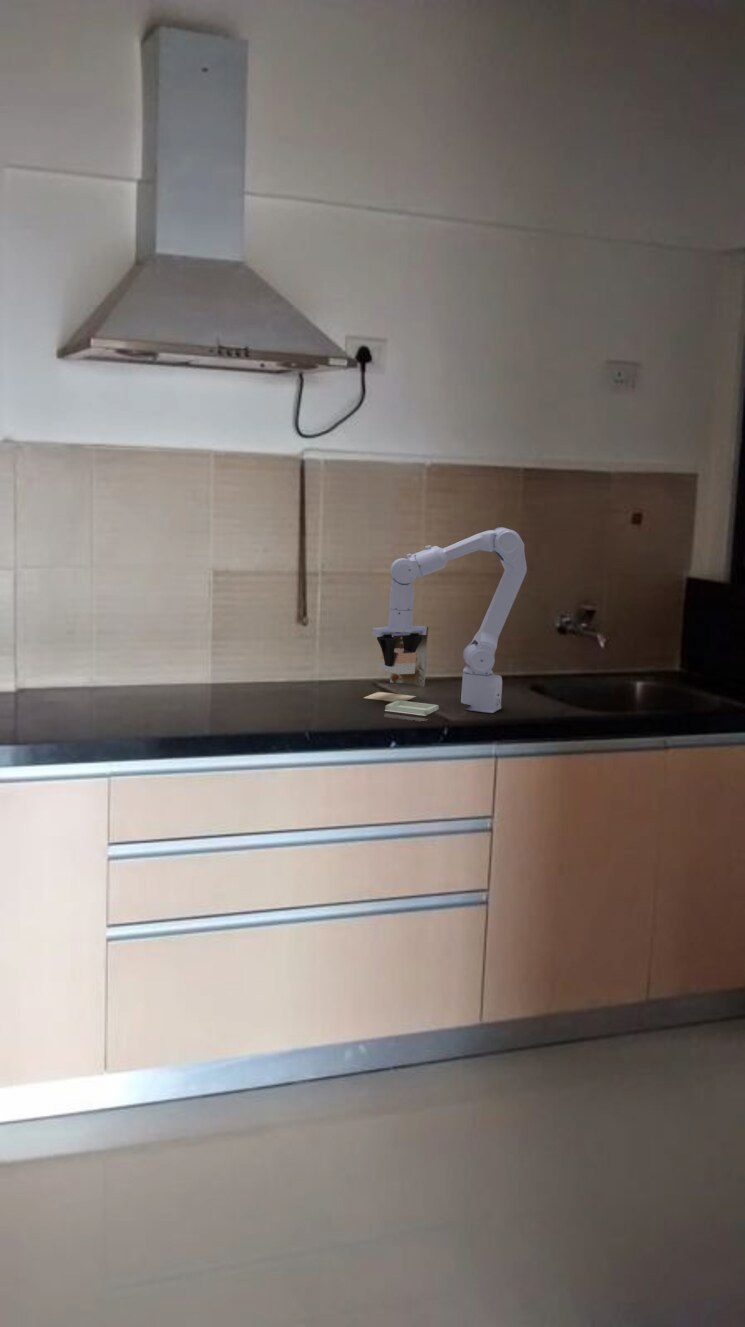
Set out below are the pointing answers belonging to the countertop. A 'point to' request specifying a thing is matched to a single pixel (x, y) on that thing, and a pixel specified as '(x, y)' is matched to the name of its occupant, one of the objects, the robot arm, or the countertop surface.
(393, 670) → the housing
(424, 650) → the coffee box
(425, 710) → the stand
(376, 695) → the stand
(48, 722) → the countertop surface
